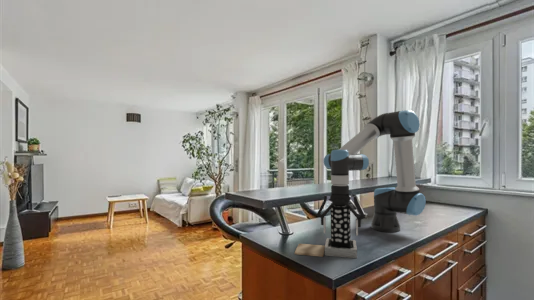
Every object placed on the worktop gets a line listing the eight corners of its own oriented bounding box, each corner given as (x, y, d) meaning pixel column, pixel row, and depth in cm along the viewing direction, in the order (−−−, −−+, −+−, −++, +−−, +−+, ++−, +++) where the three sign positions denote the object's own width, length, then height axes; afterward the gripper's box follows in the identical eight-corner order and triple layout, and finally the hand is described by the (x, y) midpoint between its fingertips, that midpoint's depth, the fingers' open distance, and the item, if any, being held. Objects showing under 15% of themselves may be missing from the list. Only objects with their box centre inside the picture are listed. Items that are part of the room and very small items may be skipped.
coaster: (325, 247, 126) (325, 245, 126) (323, 256, 115) (323, 254, 115) (299, 245, 129) (298, 243, 129) (294, 254, 118) (294, 252, 118)
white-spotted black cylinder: (354, 253, 118) (354, 206, 118) (337, 256, 115) (336, 208, 116) (343, 247, 126) (343, 203, 126) (327, 249, 123) (327, 204, 124)
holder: (355, 245, 128) (354, 206, 129) (357, 258, 112) (356, 214, 113) (327, 243, 132) (326, 205, 132) (324, 255, 116) (324, 212, 116)
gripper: (369, 184, 121) (370, 233, 121) (312, 183, 128) (312, 229, 127) (371, 186, 114) (371, 238, 114) (310, 185, 121) (310, 234, 120)
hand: (340, 233), depth 121 cm, fingers open, 13 cm apart
